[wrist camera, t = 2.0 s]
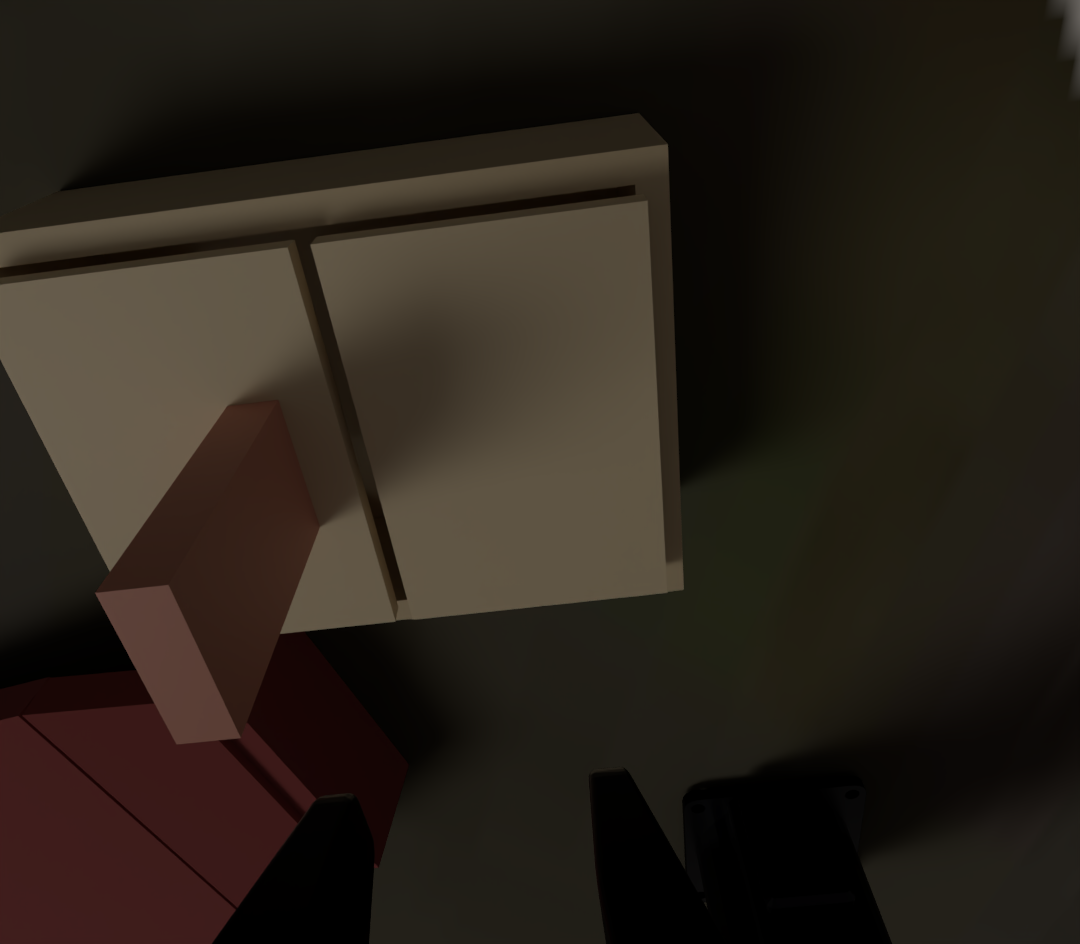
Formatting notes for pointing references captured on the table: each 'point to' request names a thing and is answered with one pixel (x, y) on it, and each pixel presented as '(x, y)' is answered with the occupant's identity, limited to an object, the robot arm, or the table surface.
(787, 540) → the table surface
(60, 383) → the flap
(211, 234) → the small beige cabinet
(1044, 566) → the table surface
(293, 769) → the carton
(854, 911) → the robot arm
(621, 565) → the flap
